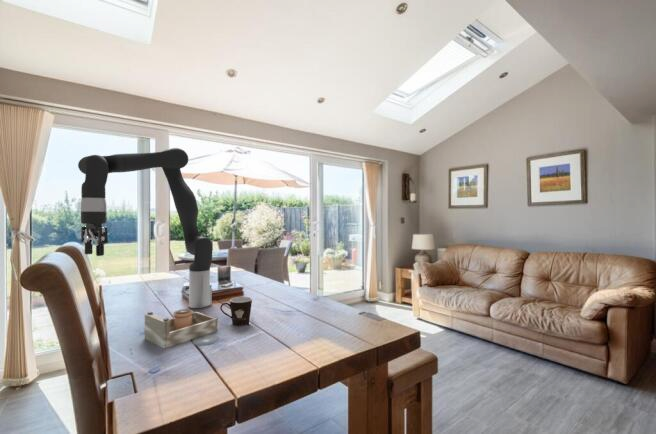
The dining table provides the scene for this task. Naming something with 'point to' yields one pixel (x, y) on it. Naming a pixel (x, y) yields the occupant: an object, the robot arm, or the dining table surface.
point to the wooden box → (166, 335)
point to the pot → (183, 318)
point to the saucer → (205, 340)
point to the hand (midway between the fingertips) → (94, 254)
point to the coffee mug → (239, 310)
